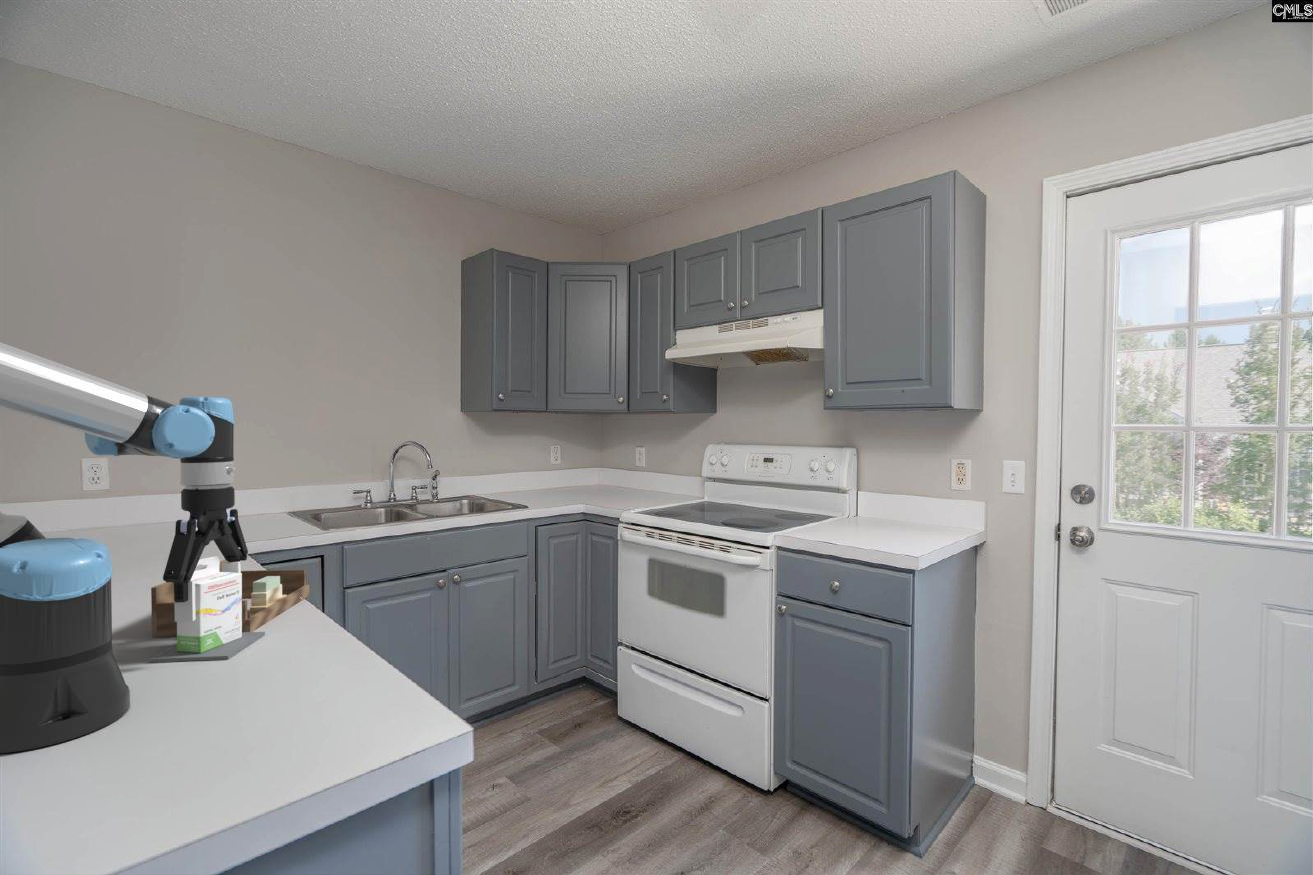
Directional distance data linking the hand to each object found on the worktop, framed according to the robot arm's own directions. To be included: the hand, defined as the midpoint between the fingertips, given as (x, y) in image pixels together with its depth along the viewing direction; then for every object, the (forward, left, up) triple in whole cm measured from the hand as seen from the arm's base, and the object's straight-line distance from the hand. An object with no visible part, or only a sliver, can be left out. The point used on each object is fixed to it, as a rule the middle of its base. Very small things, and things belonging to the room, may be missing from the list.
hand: (210, 608), depth 108 cm
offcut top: (+19, 0, -2) cm, 19 cm away
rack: (+20, +6, -7) cm, 22 cm away
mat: (0, 0, -7) cm, 7 cm away
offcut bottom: (+19, 0, -7) cm, 21 cm away
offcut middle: (+20, 0, -4) cm, 20 cm away
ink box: (0, 0, -7) cm, 7 cm away
